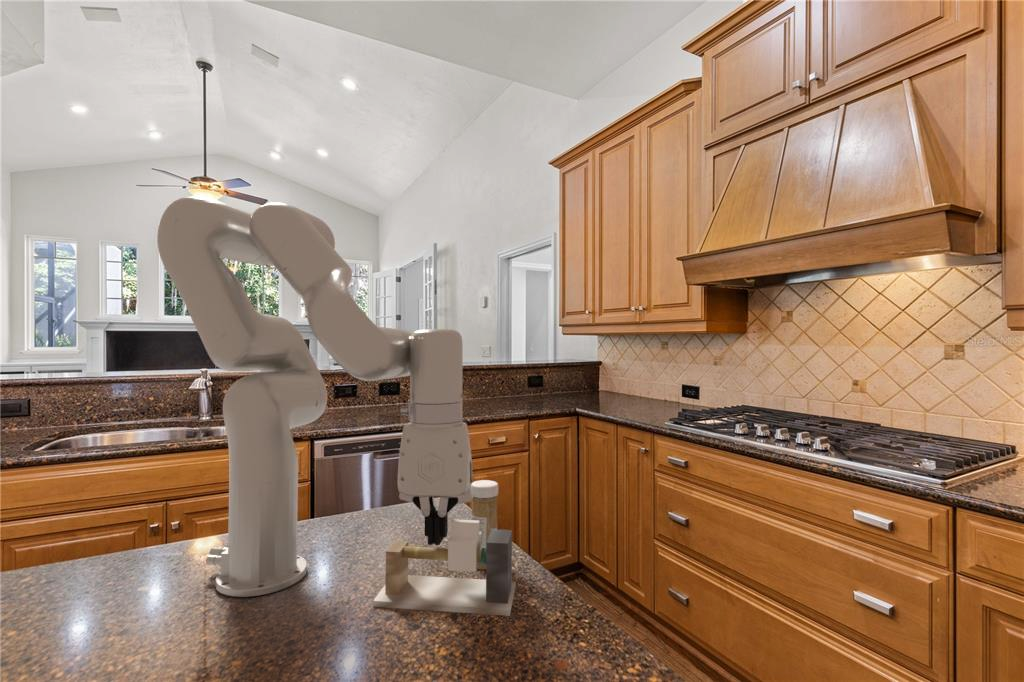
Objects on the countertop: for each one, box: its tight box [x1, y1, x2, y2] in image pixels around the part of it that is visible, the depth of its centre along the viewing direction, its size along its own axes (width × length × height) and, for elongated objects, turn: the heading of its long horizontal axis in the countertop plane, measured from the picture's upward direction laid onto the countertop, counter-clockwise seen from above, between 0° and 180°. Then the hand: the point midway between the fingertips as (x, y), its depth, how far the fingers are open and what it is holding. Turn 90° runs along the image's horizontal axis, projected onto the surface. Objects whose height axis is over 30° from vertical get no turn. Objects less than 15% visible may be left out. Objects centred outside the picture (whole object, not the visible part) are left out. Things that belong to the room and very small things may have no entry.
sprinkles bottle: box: [470, 479, 499, 570], centre depth 81 cm, size 5×5×14 cm
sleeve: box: [447, 518, 481, 573], centre depth 70 cm, size 4×4×6 cm
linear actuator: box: [372, 528, 517, 617], centre depth 71 cm, size 19×8×9 cm, turn 84°
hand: (436, 541), depth 71 cm, fingers closed
